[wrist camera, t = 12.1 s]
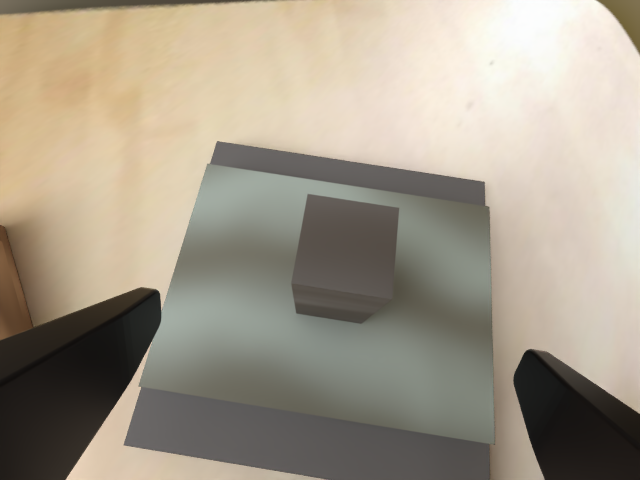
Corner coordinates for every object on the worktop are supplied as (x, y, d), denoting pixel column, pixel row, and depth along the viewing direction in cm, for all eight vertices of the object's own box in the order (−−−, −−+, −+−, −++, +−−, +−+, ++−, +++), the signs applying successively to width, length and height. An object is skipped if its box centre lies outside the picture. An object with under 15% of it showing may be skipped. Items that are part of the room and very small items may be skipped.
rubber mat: (479, 498, 16) (490, 506, 15) (134, 440, 16) (123, 445, 15) (476, 190, 21) (484, 181, 20) (220, 151, 22) (217, 141, 21)
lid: (477, 437, 16) (618, 494, 9) (153, 384, 16) (32, 397, 9) (475, 218, 20) (571, 134, 12) (214, 178, 20) (164, 73, 13)
